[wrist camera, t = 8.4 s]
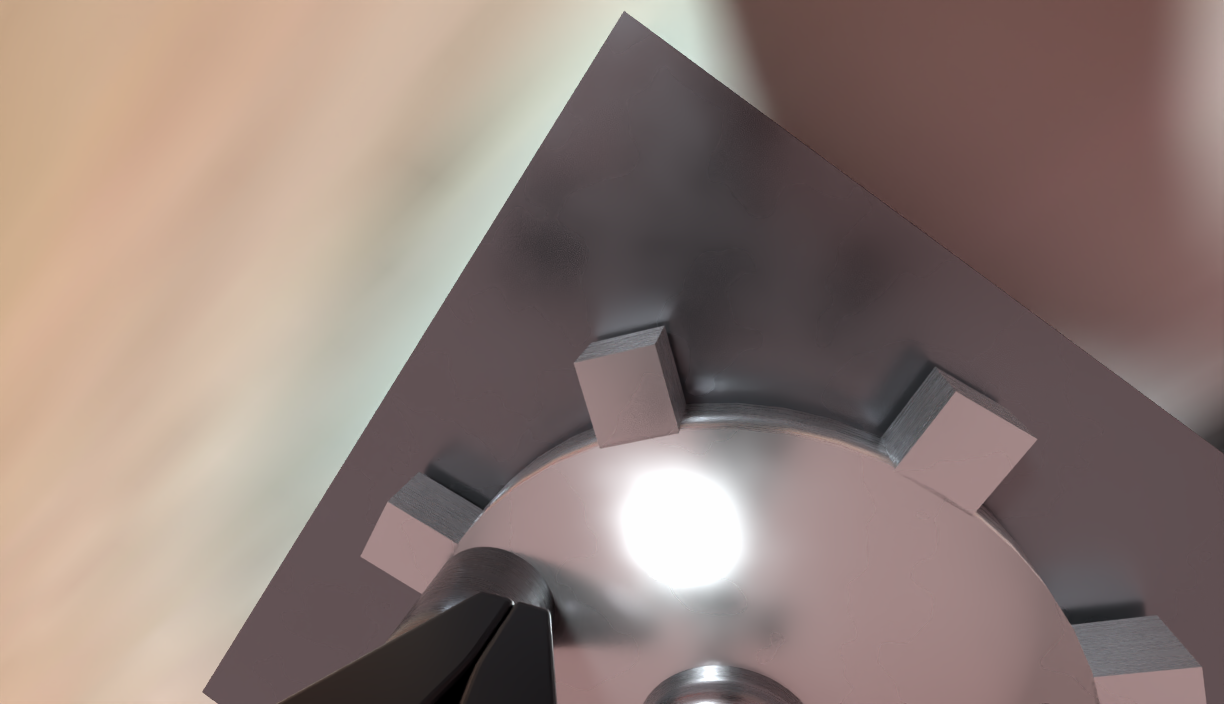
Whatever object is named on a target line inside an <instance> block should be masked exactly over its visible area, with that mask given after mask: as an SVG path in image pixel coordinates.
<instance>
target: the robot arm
mask: <svg viewBox="0 0 1224 704" xmlns="http://www.w3.org/2000/svg"><path fill="white" fill-rule="evenodd" d="M277 704H557V693H556V679H555V666H554V652H553V639H552V625H551V614H550V612H549V610H548V609H546V608H543V607H539V606H536V605H532V604H528V603H525V602H518V603H516V604H515V605H514V602H513V600H512V599H510V598H507V597H504V596H500V595H497V594H493V593H490V592H486V591H481V592H478V593H476V594H474V595H472V596H471V597H469V598H467V599H465V600H463V601H462V602H460V603H458V604H456V605H454V606H452V607H451V608H449V609H447V610H445V611H443V612H442V613H440V614H438V615H436V616H434V617H433V618H431V619H429V620H427V621H425V622H423V623H422V624H420V625H418V626H416V627H414V628H413V629H411V630H409V631H407V632H405V633H404V634H402V635H400V636H398V637H396V638H394V639H393V640H391V641H389V642H387V643H385V644H384V645H382V646H380V647H378V648H376V649H375V650H373V651H371V652H369V653H367V654H365V655H364V656H362V657H360V658H358V659H356V660H355V661H353V662H351V663H349V664H347V665H346V666H344V667H342V668H340V669H338V670H336V671H335V672H333V673H331V674H329V675H327V676H326V677H324V678H322V679H320V680H318V681H317V682H315V683H313V684H311V685H309V686H307V687H306V688H304V689H302V690H300V691H298V692H297V693H295V694H293V695H291V696H289V697H288V698H286V699H284V700H282V701H280V702H278V703H277Z"/></svg>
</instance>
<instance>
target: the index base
mask: <svg viewBox="0 0 1224 704" xmlns="http://www.w3.org/2000/svg"><path fill="white" fill-rule="evenodd" d="M664 325H665V328H666V332H667V335H668V339H669V343H670V346H671V350H672V354H673V357H674V361H675V365H676V368H677V372H678V376H679V379H680V383H681V387H682V390H683V394H684V398H685V401H686V405H687V404H705V403H743V404H753V405H762V406H772V407H781V408H787V409H792V410H796V411H800V412H805V413H809V414H814V415H818V416H822V417H827V418H831V419H834V420H836V421H839V422H842V423H845V424H847V425H850V426H853V427H856V428H859V429H861V430H864V431H867V432H870V433H872V434H875V435H877V436H879V437H882V436H883V434H884V433H885V432H886V430H887V429H888V428H889V427H890V425H891V424H892V423H893V421H894V420H895V419H896V417H897V416H898V415H899V413H900V412H901V411H902V409H903V408H904V407H905V406H906V404H907V403H908V402H909V400H910V399H911V398H912V396H913V395H914V394H915V392H916V391H917V390H918V388H919V387H920V386H921V384H922V383H923V382H924V381H925V379H926V378H927V377H928V375H929V374H930V373H931V371H932V370H933V369H934V367H936V368H938V369H940V370H942V371H943V372H945V373H947V374H948V375H950V376H952V377H954V378H955V379H957V380H959V381H961V382H962V383H964V384H966V385H967V386H969V387H971V388H973V389H974V390H976V391H978V392H979V393H981V394H983V395H985V396H986V397H988V398H990V399H991V400H993V401H995V402H997V403H998V404H1000V405H1002V406H1003V407H1005V408H1007V409H1008V410H1009V411H1010V412H1011V413H1012V414H1013V415H1014V416H1015V417H1016V418H1017V419H1018V420H1019V421H1020V422H1021V423H1022V424H1023V425H1024V426H1025V427H1026V428H1027V429H1028V430H1029V431H1030V432H1031V433H1032V434H1033V435H1034V436H1035V437H1036V438H1037V440H1036V442H1035V443H1034V444H1033V445H1032V446H1031V448H1030V449H1029V450H1028V451H1027V452H1026V453H1025V455H1024V456H1023V457H1022V458H1021V459H1020V460H1019V462H1018V463H1017V464H1016V465H1015V466H1014V467H1013V469H1012V470H1011V471H1010V472H1009V473H1008V475H1007V476H1006V477H1005V478H1004V479H1003V480H1002V482H1001V483H1000V484H999V485H998V486H997V487H996V489H995V490H994V491H993V492H992V493H991V494H990V496H989V497H988V498H987V499H986V500H985V501H984V503H983V504H982V505H983V506H984V507H985V508H986V509H987V510H988V511H989V512H991V513H992V515H993V516H994V517H995V518H996V519H997V521H998V522H999V523H1000V524H1001V525H1002V526H1003V528H1004V529H1005V530H1006V531H1007V532H1008V533H1009V535H1010V536H1011V537H1012V538H1013V539H1014V540H1015V542H1016V543H1017V544H1018V545H1019V546H1020V548H1021V549H1022V551H1023V552H1024V554H1025V555H1026V557H1027V558H1028V560H1029V561H1030V563H1031V564H1032V566H1033V567H1034V569H1035V570H1036V572H1037V573H1038V574H1039V576H1040V577H1041V579H1042V580H1043V582H1044V583H1045V585H1046V586H1047V588H1048V589H1049V591H1050V593H1051V594H1052V596H1053V597H1054V599H1055V600H1056V602H1057V604H1058V605H1059V607H1060V608H1061V610H1062V612H1063V613H1064V615H1065V616H1066V618H1067V619H1068V621H1069V623H1070V624H1071V625H1074V624H1083V623H1091V622H1100V621H1109V620H1118V619H1127V618H1136V617H1145V616H1154V615H1157V616H1158V617H1159V618H1160V619H1161V620H1162V621H1163V623H1164V624H1165V625H1166V626H1167V627H1168V628H1169V629H1170V631H1171V632H1172V633H1173V634H1174V635H1175V636H1176V638H1177V639H1178V640H1179V641H1180V642H1181V643H1182V644H1183V646H1184V647H1185V648H1186V649H1187V650H1188V651H1189V653H1190V654H1191V655H1192V656H1193V657H1194V658H1195V659H1196V661H1197V662H1198V663H1199V664H1200V665H1201V666H1202V671H1203V679H1204V687H1205V696H1206V704H1224V454H1223V453H1222V452H1220V451H1219V450H1218V449H1216V448H1215V447H1214V446H1212V445H1211V444H1210V443H1208V442H1207V441H1206V440H1204V439H1203V438H1202V437H1200V436H1199V435H1197V434H1196V433H1195V432H1193V431H1192V430H1191V429H1189V428H1188V427H1187V426H1185V425H1184V424H1183V423H1181V422H1180V421H1179V420H1177V419H1176V418H1174V417H1173V416H1172V415H1170V414H1169V413H1168V412H1166V411H1165V410H1164V409H1162V408H1161V407H1160V406H1158V405H1157V404H1155V403H1154V402H1153V401H1151V400H1150V399H1149V398H1147V397H1146V396H1145V395H1143V394H1142V393H1141V392H1139V391H1138V390H1137V389H1135V388H1134V387H1132V386H1131V385H1130V384H1128V383H1127V382H1126V381H1124V380H1123V379H1122V378H1120V377H1119V376H1118V375H1116V374H1115V373H1114V372H1112V371H1111V370H1109V369H1108V368H1107V367H1105V366H1104V365H1103V364H1101V363H1100V362H1099V361H1097V360H1096V359H1095V358H1093V357H1092V356H1090V355H1089V354H1088V353H1086V352H1085V351H1084V350H1082V349H1081V348H1080V347H1078V346H1077V345H1076V344H1074V343H1073V342H1072V341H1070V340H1069V339H1067V338H1066V337H1065V336H1063V335H1062V334H1061V333H1059V332H1058V331H1057V330H1055V329H1054V328H1053V327H1051V326H1050V325H1049V324H1047V323H1046V322H1044V321H1043V320H1042V319H1040V318H1039V317H1038V316H1036V315H1035V314H1034V313H1032V312H1031V311H1030V310H1028V309H1027V308H1026V307H1024V306H1023V305H1021V304H1020V303H1019V302H1017V301H1016V300H1015V299H1013V298H1012V297H1011V296H1009V295H1008V294H1007V293H1005V292H1004V291H1002V290H1001V289H1000V288H998V287H997V286H996V285H994V284H993V283H992V282H990V281H989V280H988V279H986V278H985V277H984V276H982V275H981V274H979V273H978V272H977V271H975V270H974V269H973V268H971V267H970V266H969V265H967V264H966V263H965V262H963V261H962V260H961V259H959V258H958V257H956V256H955V255H954V254H952V253H951V252H950V251H948V250H947V249H946V248H944V247H943V246H942V245H940V244H939V243H938V242H936V241H935V240H933V239H932V238H931V237H929V236H928V235H927V234H925V233H924V232H923V231H921V230H920V229H919V228H917V227H916V226H914V225H913V224H912V223H910V222H909V221H908V220H906V219H905V218H904V217H902V216H901V215H900V214H898V213H897V212H896V211H894V210H893V209H891V208H890V207H889V206H887V205H886V204H885V203H883V202H882V201H881V200H879V199H878V198H877V197H875V196H874V195H873V194H871V193H870V192H868V191H867V190H866V189H864V188H863V187H862V186H860V185H859V184H858V183H856V182H855V181H854V180H852V179H851V178H849V177H848V176H847V175H845V174H844V173H843V172H841V171H840V170H839V169H837V168H836V167H835V166H833V165H832V164H831V163H829V162H828V161H826V160H825V159H824V158H822V157H821V156H820V155H818V154H817V153H816V152H814V151H813V150H812V149H810V148H809V147H808V146H806V145H805V144H803V143H802V142H801V141H799V140H798V139H797V138H795V137H794V136H793V135H791V134H790V133H789V132H787V131H786V130H785V129H783V128H782V127H780V126H779V125H778V124H776V123H775V122H774V121H772V120H771V119H770V118H768V117H767V116H766V115H764V114H763V113H761V112H760V111H759V110H757V109H756V108H755V107H753V106H752V105H751V104H749V103H748V102H747V101H745V100H744V99H743V98H741V97H740V96H738V95H737V94H736V93H734V92H733V91H732V90H730V89H729V88H728V87H726V86H725V85H724V84H722V83H721V82H720V81H718V80H717V79H715V78H714V77H713V76H711V75H710V74H709V73H707V72H706V71H705V70H703V69H702V68H701V67H699V66H698V65H697V64H695V63H694V62H692V61H691V60H690V59H688V58H687V57H686V56H684V55H683V54H682V53H680V52H679V51H678V50H676V49H675V48H673V47H672V46H671V45H669V44H668V43H667V42H665V41H664V40H663V39H661V38H660V37H659V36H657V35H656V34H655V33H653V32H652V31H650V30H649V29H648V28H646V27H645V26H644V25H642V24H641V23H640V22H638V21H637V20H636V19H634V18H633V17H632V16H630V15H629V14H627V13H626V12H625V11H624V12H623V14H622V15H621V17H620V19H619V20H618V22H617V23H616V25H615V27H614V28H613V30H612V31H611V33H610V35H609V36H608V38H607V40H606V41H605V43H604V44H603V46H602V48H601V49H600V51H599V52H598V54H597V56H596V57H595V59H594V60H593V62H592V64H591V65H590V67H589V69H588V70H587V72H586V73H585V75H584V77H583V78H582V80H581V81H580V83H579V85H578V86H577V88H576V90H575V91H574V93H573V94H572V96H571V98H570V99H569V101H568V102H567V104H566V106H565V107H564V109H563V111H562V112H561V114H560V115H559V117H558V119H557V120H556V122H555V123H554V125H553V127H552V128H551V130H550V131H549V133H548V135H547V136H546V138H545V140H544V141H543V143H542V144H541V146H540V148H539V149H538V151H537V152H536V154H535V156H534V157H533V159H532V161H531V162H530V164H529V165H528V167H527V169H526V170H525V172H524V173H523V175H522V177H521V178H520V180H519V182H518V183H517V185H516V186H515V188H514V190H513V191H512V193H511V194H510V196H509V198H508V199H507V201H506V203H505V204H504V206H503V207H502V209H501V211H500V212H499V214H498V215H497V217H496V219H495V220H494V222H493V223H492V225H491V227H490V228H489V230H488V232H487V233H486V235H485V236H484V238H483V240H482V241H481V243H480V244H479V246H478V248H477V249H476V251H475V253H474V254H473V256H472V257H471V259H470V261H469V262H468V264H467V265H466V267H465V269H464V270H463V272H462V274H461V275H460V277H459V278H458V280H457V282H456V283H455V285H454V286H453V288H452V290H451V291H450V293H449V295H448V296H447V298H446V299H445V301H444V303H443V304H442V306H441V307H440V309H439V311H438V312H437V314H436V315H435V317H434V319H433V320H432V322H431V324H430V325H429V327H428V328H427V330H426V332H425V333H424V335H423V336H422V338H421V340H420V341H419V343H418V345H417V346H416V348H415V349H414V351H413V353H412V354H411V356H410V357H409V359H408V361H407V362H406V364H405V366H404V367H403V369H402V370H401V372H400V374H399V375H398V377H397V378H396V380H395V382H394V383H393V385H392V386H391V388H390V390H389V391H388V393H387V395H386V396H385V398H384V399H383V401H382V403H381V404H380V406H379V407H378V409H377V411H376V412H375V414H374V416H373V417H372V419H371V420H370V422H369V424H368V425H367V427H366V428H365V430H364V432H363V433H362V435H361V437H360V438H359V440H358V441H357V443H356V445H355V446H354V448H353V449H352V451H351V453H350V454H349V456H348V458H347V459H346V461H345V462H344V464H343V466H342V467H341V469H340V470H339V472H338V474H337V475H336V477H335V478H334V480H333V482H332V483H331V485H330V487H329V488H328V490H327V491H326V493H325V495H324V496H323V498H322V499H321V501H320V503H319V504H318V506H317V508H316V509H315V511H314V512H313V514H312V516H311V517H310V519H309V520H308V522H307V524H306V525H305V527H304V529H303V530H302V532H301V533H300V535H299V537H298V538H297V540H296V541H295V543H294V545H293V546H292V548H291V550H290V551H289V553H288V554H287V556H286V558H285V559H284V561H283V562H282V564H281V566H280V567H279V569H278V570H277V572H276V574H275V575H274V577H273V579H272V580H271V582H270V583H269V585H268V587H267V588H266V590H265V591H264V593H263V595H262V596H261V598H260V600H259V601H258V603H257V604H256V606H255V608H254V609H253V611H252V612H251V614H250V616H249V617H248V619H247V621H246V622H245V624H244V625H243V627H242V629H241V630H240V632H239V633H238V635H237V637H236V638H235V640H234V641H233V643H232V645H231V646H230V648H229V650H228V651H227V653H226V654H225V656H224V658H223V659H222V661H221V662H220V664H219V666H218V667H217V669H216V671H215V672H214V674H213V675H212V677H211V679H210V680H209V682H208V683H207V685H206V687H205V688H204V690H203V693H204V694H205V695H207V696H208V697H210V698H211V699H212V700H214V701H215V702H216V703H218V704H277V703H278V702H280V701H282V700H284V699H286V698H288V697H289V696H291V695H293V694H295V693H297V692H298V691H300V690H302V689H304V688H306V687H307V686H309V685H311V684H313V683H315V682H317V681H318V680H320V679H322V678H324V677H326V676H327V675H329V674H331V673H333V672H335V671H336V670H338V669H340V668H342V667H344V666H346V665H347V664H349V663H351V662H353V661H355V660H356V659H358V658H360V657H362V656H364V655H365V654H367V653H369V652H371V651H373V650H375V649H376V648H378V647H380V646H382V645H384V644H385V642H386V641H387V640H388V638H389V637H390V636H391V634H392V633H393V632H394V630H395V629H396V628H397V626H398V625H399V624H400V622H401V621H402V620H403V619H404V617H405V616H406V615H407V613H408V612H409V611H410V609H411V608H412V607H413V605H414V604H415V603H416V601H417V600H418V599H419V597H420V596H421V595H422V594H421V593H419V592H418V591H416V590H414V589H413V588H411V587H409V586H408V585H406V584H405V583H403V582H401V581H400V580H398V579H396V578H395V577H393V576H391V575H390V574H388V573H386V572H385V571H383V570H382V569H380V568H378V567H377V566H375V565H373V564H372V563H370V562H368V561H367V560H365V559H364V558H362V557H360V556H361V554H362V552H363V550H364V548H365V546H366V544H367V542H368V540H369V538H370V536H371V534H372V532H373V530H374V528H375V526H376V524H377V522H378V520H379V518H380V516H381V514H382V512H383V510H384V508H385V506H386V504H387V502H388V501H389V500H390V499H391V498H392V497H393V496H394V495H395V494H396V493H397V492H398V491H399V490H400V489H401V488H402V487H403V486H404V485H406V484H407V483H408V482H409V481H410V480H411V479H412V478H413V477H414V476H415V475H416V474H417V473H418V472H421V473H423V474H424V475H426V476H428V477H429V478H431V479H432V480H434V481H436V482H437V483H439V484H441V485H442V486H444V487H446V488H447V489H449V490H451V491H452V492H454V493H456V494H457V495H459V496H461V497H462V498H464V499H466V500H467V501H469V502H471V503H472V504H474V505H476V506H477V507H479V508H481V509H482V510H484V508H485V507H486V506H487V505H488V504H489V503H490V502H491V500H492V499H493V498H494V497H495V496H496V495H497V494H498V493H499V492H500V490H501V489H502V488H503V487H504V486H505V485H506V484H507V483H508V482H509V481H510V480H511V479H512V478H513V477H514V476H516V475H517V474H518V473H519V472H520V471H522V470H523V469H524V468H525V467H527V466H528V465H529V464H530V463H531V462H533V461H534V460H535V459H536V458H538V457H539V456H541V455H542V454H544V453H546V452H547V451H549V450H551V449H552V448H554V447H556V446H557V445H559V444H561V443H562V442H564V441H565V440H567V439H569V438H570V437H573V436H575V435H577V434H580V433H582V432H584V431H587V430H589V429H591V428H593V425H592V422H591V418H590V415H589V412H588V408H587V405H586V402H585V399H584V395H583V392H582V389H581V385H580V382H579V379H578V376H577V372H576V369H575V366H574V362H575V361H576V360H577V359H578V358H579V356H580V355H581V354H582V353H583V352H584V351H585V349H586V348H587V347H588V346H589V345H590V344H591V343H593V342H597V341H601V340H606V339H610V338H614V337H618V336H622V335H627V334H631V333H635V332H639V331H643V330H648V329H652V328H656V327H660V326H664Z"/></svg>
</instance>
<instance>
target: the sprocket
mask: <svg viewBox="0 0 1224 704" xmlns="http://www.w3.org/2000/svg"><path fill="white" fill-rule="evenodd" d="M574 366H575V369H576V372H577V376H578V379H579V382H580V385H581V389H582V392H583V395H584V399H585V402H586V405H587V408H588V412H589V415H590V418H591V422H592V425H593V428H591V429H589V430H587V431H584V432H582V433H580V434H577V435H575V436H573V437H570V438H569V439H567V440H565V441H564V442H562V443H561V444H559V445H557V446H556V447H554V448H552V449H551V450H549V451H547V452H546V453H544V454H542V455H541V456H539V457H538V458H536V459H535V460H534V461H533V462H531V463H530V464H529V465H528V466H527V467H525V468H524V469H523V470H522V471H520V472H519V473H518V474H517V475H516V476H514V477H513V478H512V479H511V480H510V481H509V482H508V483H507V484H506V485H505V486H504V487H503V488H502V489H501V490H500V492H499V493H498V494H497V495H496V496H495V497H494V498H493V499H492V500H491V502H490V503H489V504H488V505H487V506H486V507H485V508H484V510H482V509H481V508H479V507H477V506H476V505H474V504H472V503H471V502H469V501H467V500H466V499H464V498H462V497H461V496H459V495H457V494H456V493H454V492H452V491H451V490H449V489H447V488H446V487H444V486H442V485H441V484H439V483H437V482H436V481H434V480H432V479H431V478H429V477H428V476H426V475H424V474H423V473H421V472H418V473H417V474H416V475H415V476H414V477H413V478H412V479H411V480H410V481H409V482H408V483H407V484H406V485H404V486H403V487H402V488H401V489H400V490H399V491H398V492H397V493H396V494H395V495H394V496H393V497H392V498H391V499H390V500H389V501H388V502H387V504H386V506H385V508H384V510H383V512H382V514H381V516H380V518H379V520H378V522H377V524H376V526H375V528H374V530H373V532H372V534H371V536H370V538H369V540H368V542H367V544H366V546H365V548H364V550H363V552H362V554H361V556H360V557H362V558H364V559H365V560H367V561H368V562H370V563H372V564H373V565H375V566H377V567H378V568H380V569H382V570H383V571H385V572H386V573H388V574H390V575H391V576H393V577H395V578H396V579H398V580H400V581H401V582H403V583H405V584H406V585H408V586H409V587H411V588H413V589H414V590H416V591H418V592H419V593H421V594H422V595H421V596H420V597H419V599H418V600H417V601H416V603H415V604H414V605H413V607H412V608H411V609H410V611H409V612H408V613H407V615H406V616H405V617H404V619H403V620H402V621H401V622H400V624H399V625H398V626H397V628H396V629H395V630H394V632H393V633H392V634H391V636H390V637H389V638H388V640H387V641H386V642H385V643H387V642H389V641H391V640H393V639H394V638H396V637H398V636H400V635H402V634H404V633H405V632H407V631H409V630H411V629H413V628H414V627H416V626H418V625H420V624H422V623H423V622H425V621H427V620H429V619H431V618H433V617H434V616H436V615H438V614H440V613H442V612H443V611H445V610H447V609H449V608H451V607H452V606H454V605H456V604H458V603H460V602H462V601H463V600H465V599H467V598H469V597H471V596H472V595H474V594H476V593H478V592H481V591H486V592H490V593H493V594H497V595H500V596H504V597H507V598H510V599H512V600H513V602H514V605H515V604H516V603H518V602H525V603H528V604H532V605H536V606H539V607H543V608H546V609H548V610H549V612H550V614H551V625H552V639H553V652H554V666H555V679H556V693H557V704H1206V696H1205V687H1204V679H1203V671H1202V666H1201V665H1200V664H1199V663H1198V662H1197V661H1196V659H1195V658H1194V657H1193V656H1192V655H1191V654H1190V653H1189V651H1188V650H1187V649H1186V648H1185V647H1184V646H1183V644H1182V643H1181V642H1180V641H1179V640H1178V639H1177V638H1176V636H1175V635H1174V634H1173V633H1172V632H1171V631H1170V629H1169V628H1168V627H1167V626H1166V625H1165V624H1164V623H1163V621H1162V620H1161V619H1160V618H1159V617H1158V616H1157V615H1154V616H1145V617H1136V618H1127V619H1118V620H1109V621H1100V622H1091V623H1083V624H1074V625H1071V624H1070V623H1069V621H1068V619H1067V618H1066V616H1065V615H1064V613H1063V612H1062V610H1061V608H1060V607H1059V605H1058V604H1057V602H1056V600H1055V599H1054V597H1053V596H1052V594H1051V593H1050V591H1049V589H1048V588H1047V586H1046V585H1045V583H1044V582H1043V580H1042V579H1041V577H1040V576H1039V574H1038V573H1037V572H1036V570H1035V569H1034V567H1033V566H1032V564H1031V563H1030V561H1029V560H1028V558H1027V557H1026V555H1025V554H1024V552H1023V551H1022V549H1021V548H1020V546H1019V545H1018V544H1017V543H1016V542H1015V540H1014V539H1013V538H1012V537H1011V536H1010V535H1009V533H1008V532H1007V531H1006V530H1005V529H1004V528H1003V526H1002V525H1001V524H1000V523H999V522H998V521H997V519H996V518H995V517H994V516H993V515H992V513H991V512H989V511H988V510H987V509H986V508H985V507H984V506H983V505H982V504H983V503H984V501H985V500H986V499H987V498H988V497H989V496H990V494H991V493H992V492H993V491H994V490H995V489H996V487H997V486H998V485H999V484H1000V483H1001V482H1002V480H1003V479H1004V478H1005V477H1006V476H1007V475H1008V473H1009V472H1010V471H1011V470H1012V469H1013V467H1014V466H1015V465H1016V464H1017V463H1018V462H1019V460H1020V459H1021V458H1022V457H1023V456H1024V455H1025V453H1026V452H1027V451H1028V450H1029V449H1030V448H1031V446H1032V445H1033V444H1034V443H1035V442H1036V440H1037V438H1036V437H1035V436H1034V435H1033V434H1032V433H1031V432H1030V431H1029V430H1028V429H1027V428H1026V427H1025V426H1024V425H1023V424H1022V423H1021V422H1020V421H1019V420H1018V419H1017V418H1016V417H1015V416H1014V415H1013V414H1012V413H1011V412H1010V411H1009V410H1008V409H1007V408H1005V407H1003V406H1002V405H1000V404H998V403H997V402H995V401H993V400H991V399H990V398H988V397H986V396H985V395H983V394H981V393H979V392H978V391H976V390H974V389H973V388H971V387H969V386H967V385H966V384H964V383H962V382H961V381H959V380H957V379H955V378H954V377H952V376H950V375H948V374H947V373H945V372H943V371H942V370H940V369H938V368H936V367H934V369H933V370H932V371H931V373H930V374H929V375H928V377H927V378H926V379H925V381H924V382H923V383H922V384H921V386H920V387H919V388H918V390H917V391H916V392H915V394H914V395H913V396H912V398H911V399H910V400H909V402H908V403H907V404H906V406H905V407H904V408H903V409H902V411H901V412H900V413H899V415H898V416H897V417H896V419H895V420H894V421H893V423H892V424H891V425H890V427H889V428H888V429H887V430H886V432H885V433H884V434H883V436H882V437H879V436H877V435H875V434H872V433H870V432H867V431H864V430H861V429H859V428H856V427H853V426H850V425H847V424H845V423H842V422H839V421H836V420H834V419H831V418H827V417H822V416H818V415H814V414H809V413H805V412H800V411H796V410H792V409H787V408H781V407H772V406H762V405H753V404H743V403H705V404H687V405H686V401H685V398H684V394H683V390H682V387H681V383H680V379H679V376H678V372H677V368H676V365H675V361H674V357H673V354H672V350H671V346H670V343H669V339H668V335H667V332H666V328H665V325H664V326H660V327H656V328H652V329H648V330H643V331H639V332H635V333H631V334H627V335H622V336H618V337H614V338H610V339H606V340H601V341H597V342H593V343H591V344H590V345H589V346H588V347H587V348H586V349H585V351H584V352H583V353H582V354H581V355H580V356H579V358H578V359H577V360H576V361H575V362H574Z"/></svg>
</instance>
